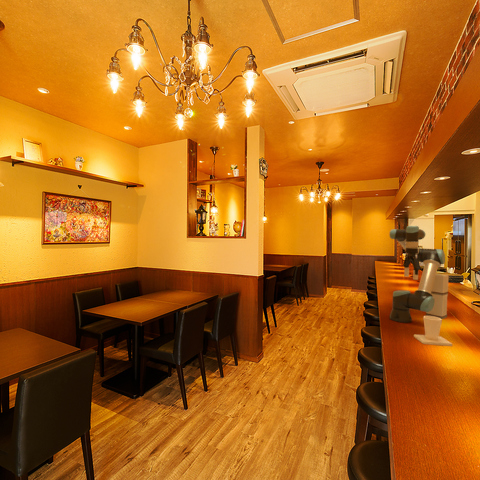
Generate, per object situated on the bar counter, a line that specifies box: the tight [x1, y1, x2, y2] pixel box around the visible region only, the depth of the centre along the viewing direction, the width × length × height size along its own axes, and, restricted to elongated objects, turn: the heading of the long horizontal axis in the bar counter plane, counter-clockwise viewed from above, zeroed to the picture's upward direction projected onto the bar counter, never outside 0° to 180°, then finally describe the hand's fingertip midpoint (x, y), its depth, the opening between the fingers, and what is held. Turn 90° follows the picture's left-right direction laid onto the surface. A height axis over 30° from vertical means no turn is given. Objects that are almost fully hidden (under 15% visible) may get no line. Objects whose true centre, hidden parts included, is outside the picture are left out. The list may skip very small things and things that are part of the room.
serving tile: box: [413, 334, 453, 347], centre depth 170 cm, size 12×16×2 cm
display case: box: [425, 273, 449, 320], centre depth 225 cm, size 11×11×35 cm
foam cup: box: [422, 315, 443, 340], centre depth 170 cm, size 10×9×13 cm
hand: (410, 278), depth 190 cm, fingers open, 13 cm apart
